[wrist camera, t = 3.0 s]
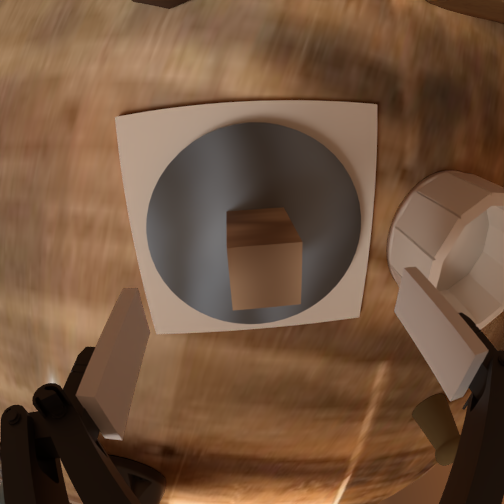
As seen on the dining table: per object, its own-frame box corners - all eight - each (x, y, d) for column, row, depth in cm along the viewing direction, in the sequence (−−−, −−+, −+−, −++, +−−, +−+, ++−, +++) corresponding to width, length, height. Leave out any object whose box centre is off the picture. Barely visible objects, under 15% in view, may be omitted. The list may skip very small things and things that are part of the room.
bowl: (377, 302, 29) (408, 350, 22) (394, 167, 23) (444, 190, 17) (472, 286, 29) (508, 321, 23) (496, 174, 24) (545, 196, 17)
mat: (157, 330, 28) (156, 334, 28) (117, 116, 20) (115, 117, 19) (357, 313, 29) (359, 317, 29) (374, 104, 21) (377, 104, 20)
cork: (427, 394, 37) (457, 451, 28) (451, 392, 39) (481, 443, 29) (405, 419, 40) (429, 474, 30) (430, 416, 41) (454, 466, 31)
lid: (169, 321, 27) (157, 381, 21) (135, 134, 20) (97, 147, 14) (346, 305, 28) (375, 359, 21) (358, 121, 21) (409, 131, 14)
